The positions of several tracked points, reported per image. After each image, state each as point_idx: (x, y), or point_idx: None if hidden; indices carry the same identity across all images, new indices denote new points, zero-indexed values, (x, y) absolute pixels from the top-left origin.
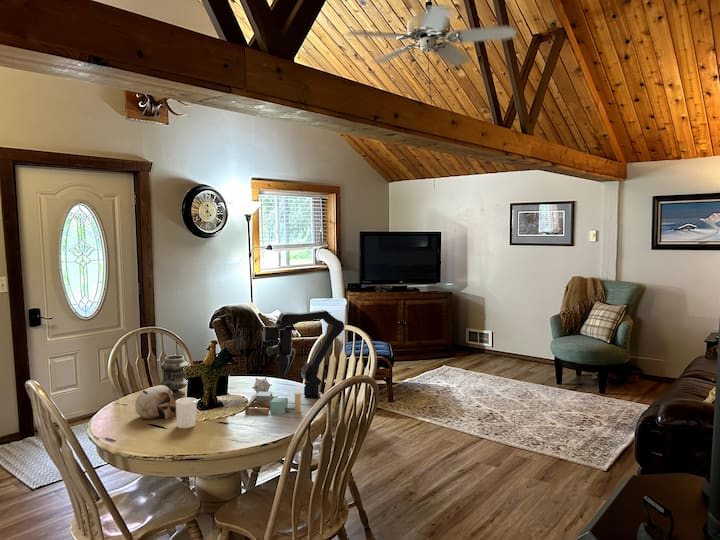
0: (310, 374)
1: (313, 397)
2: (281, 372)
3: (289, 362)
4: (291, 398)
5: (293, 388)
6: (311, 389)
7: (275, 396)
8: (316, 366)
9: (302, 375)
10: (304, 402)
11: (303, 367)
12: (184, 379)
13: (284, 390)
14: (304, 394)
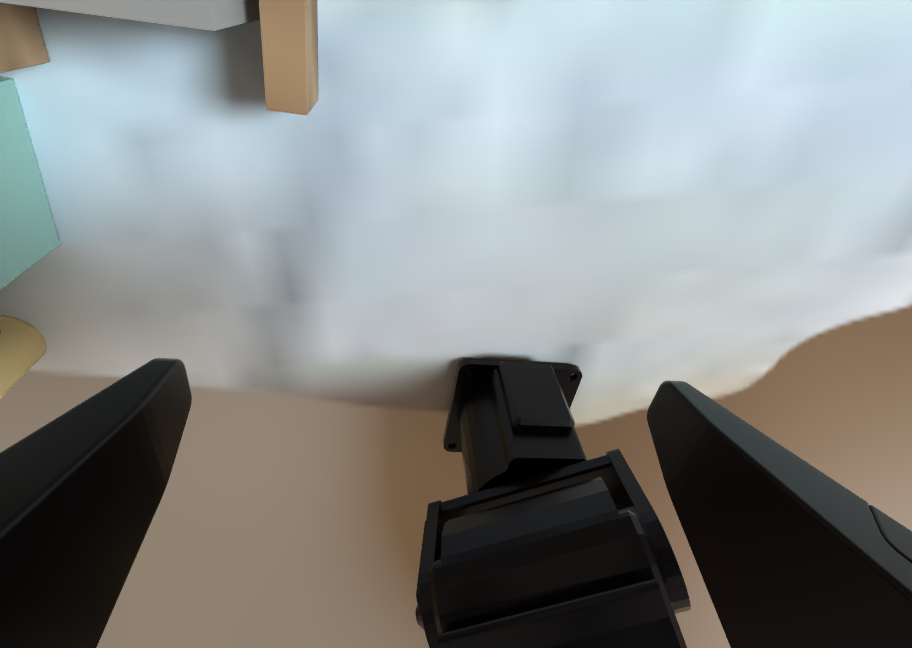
0: (434, 641)
1: (447, 422)
2: (53, 437)
3: (766, 641)
4: (447, 248)
5: (794, 238)
6: (465, 463)
7: (281, 79)
8: None
9: (545, 526)
10: (329, 366)
11: (639, 642)
12: None
13: (759, 145)
14: (499, 367)
